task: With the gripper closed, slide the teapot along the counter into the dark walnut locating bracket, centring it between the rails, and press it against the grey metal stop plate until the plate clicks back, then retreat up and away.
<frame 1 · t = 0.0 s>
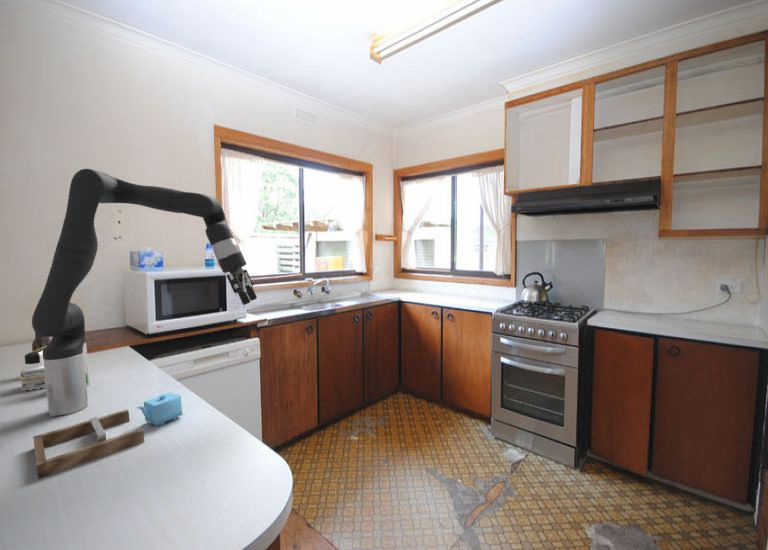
hand: (250, 301, 115), 31 cm above the counter, tool tilted 20°, fingers open, 8 cm apart
container: (40, 386, 132), on the counter
skincare box: (72, 387, 130), on the counter
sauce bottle: (44, 374, 145), on the counter
teapot: (160, 422, 102), on the counter
stop plate: (97, 433, 92), point 2 cm above the counter, slide at 0.0 cm
locating bracket: (83, 446, 90), on the counter
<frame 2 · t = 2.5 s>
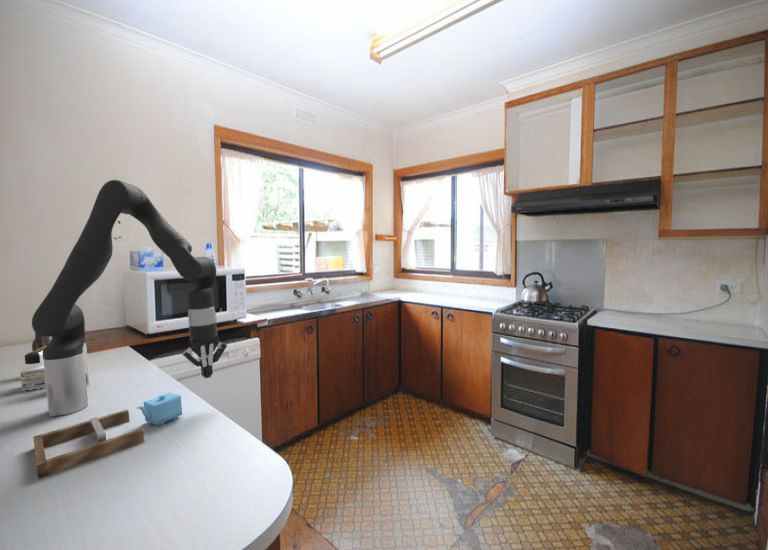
hand: (207, 377, 111), 9 cm above the counter, tool pointing down, fingers closed
nothing on the counter moved.
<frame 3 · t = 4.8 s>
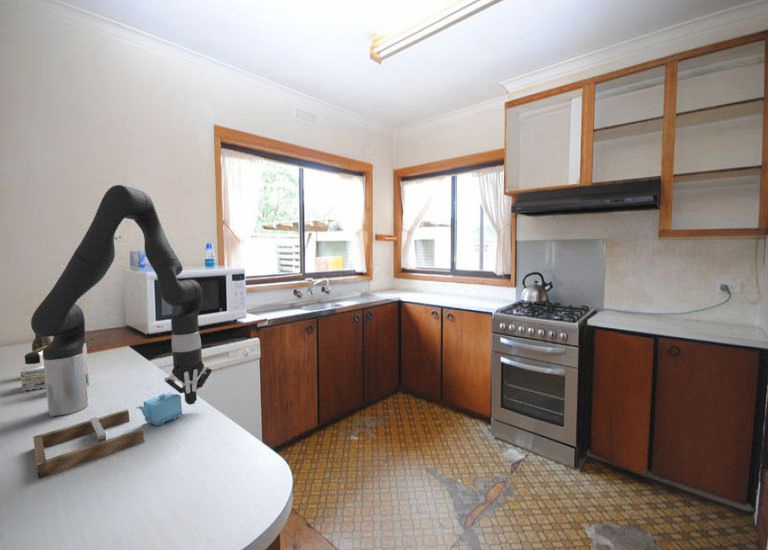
hand: (191, 403, 108), 2 cm above the counter, tool pointing down, fingers closed
teapot: (160, 422, 102), on the counter, touching gripper
everything else where it was.
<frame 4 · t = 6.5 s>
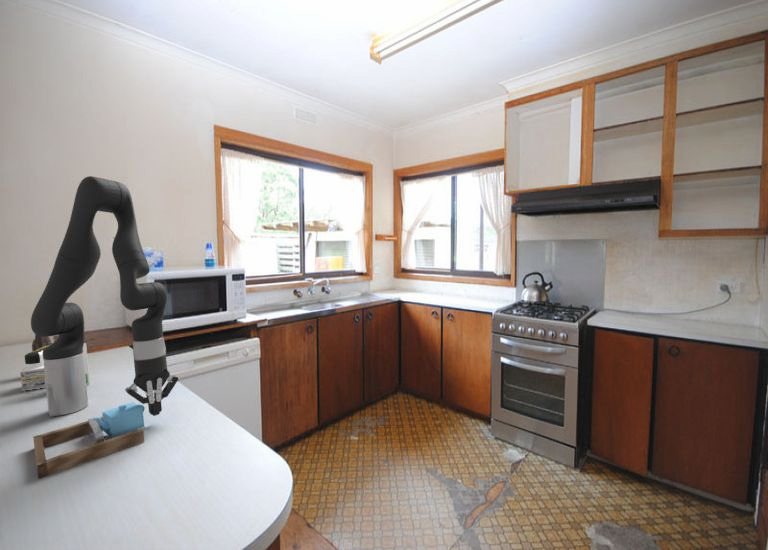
hand: (155, 414, 101), 3 cm above the counter, tool pointing down, fingers closed
teapot: (120, 434, 95), on the counter, touching gripper, stop plate
stop plate: (96, 433, 91), point 2 cm above the counter, slide at 0.4 cm, touching teapot
everything else where it was.
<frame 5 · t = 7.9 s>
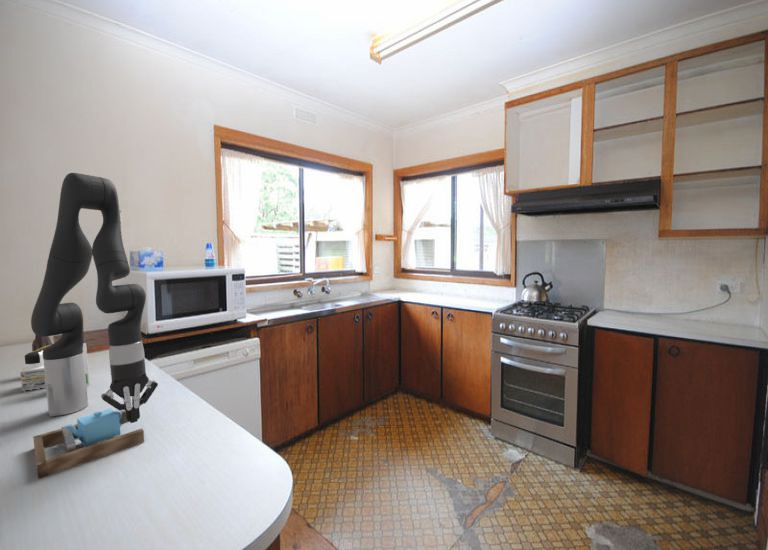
hand: (133, 421, 97), 3 cm above the counter, tool pointing down, fingers closed
teapot: (95, 442, 92), on the counter, touching gripper, stop plate
stop plate: (69, 442, 88), point 2 cm above the counter, slide at 5.6 cm, touching teapot
everything else where it was.
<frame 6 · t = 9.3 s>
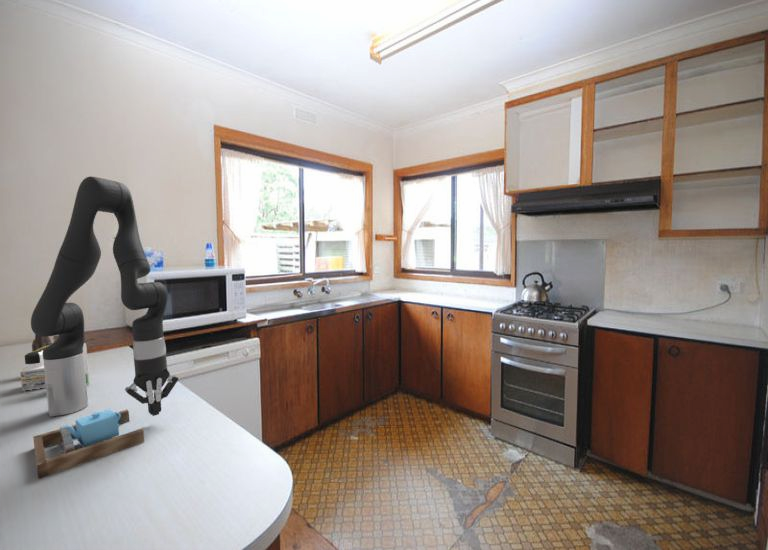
hand: (155, 414, 101), 3 cm above the counter, tool pointing down, fingers closed
teapot: (94, 443, 92), on the counter
stop plate: (67, 442, 87), point 2 cm above the counter, slide at 5.9 cm
everything else where it was.
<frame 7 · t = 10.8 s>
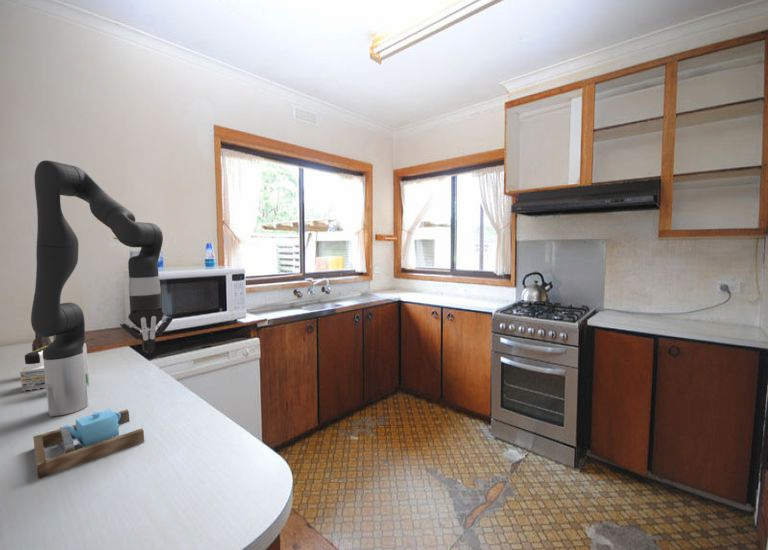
hand: (149, 351, 103), 19 cm above the counter, tool pointing down, fingers closed
nothing on the counter moved.
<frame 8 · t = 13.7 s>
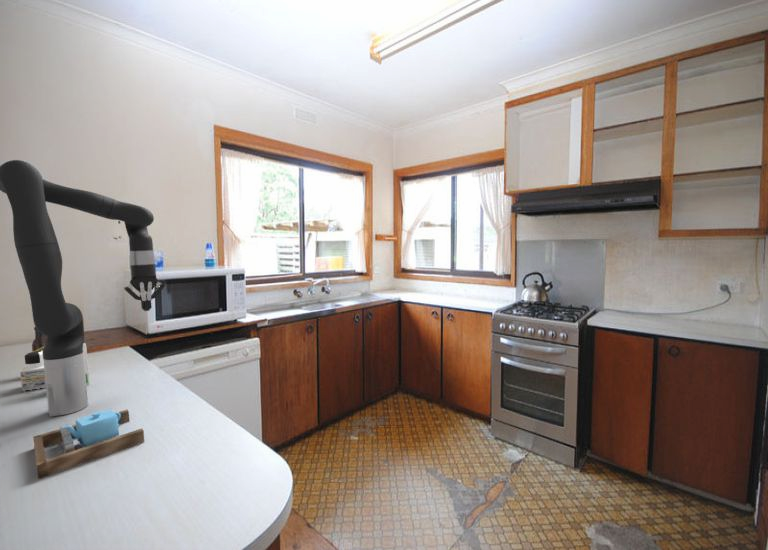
hand: (146, 310, 131), 27 cm above the counter, tool pointing down, fingers closed
nothing on the counter moved.
at the end: stop plate slide at 5.9 cm; teapot inside the target area on the locating bracket (1.4 cm from its centre), point 0.0 cm above the locating bracket's base; teapot tilted 0° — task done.
